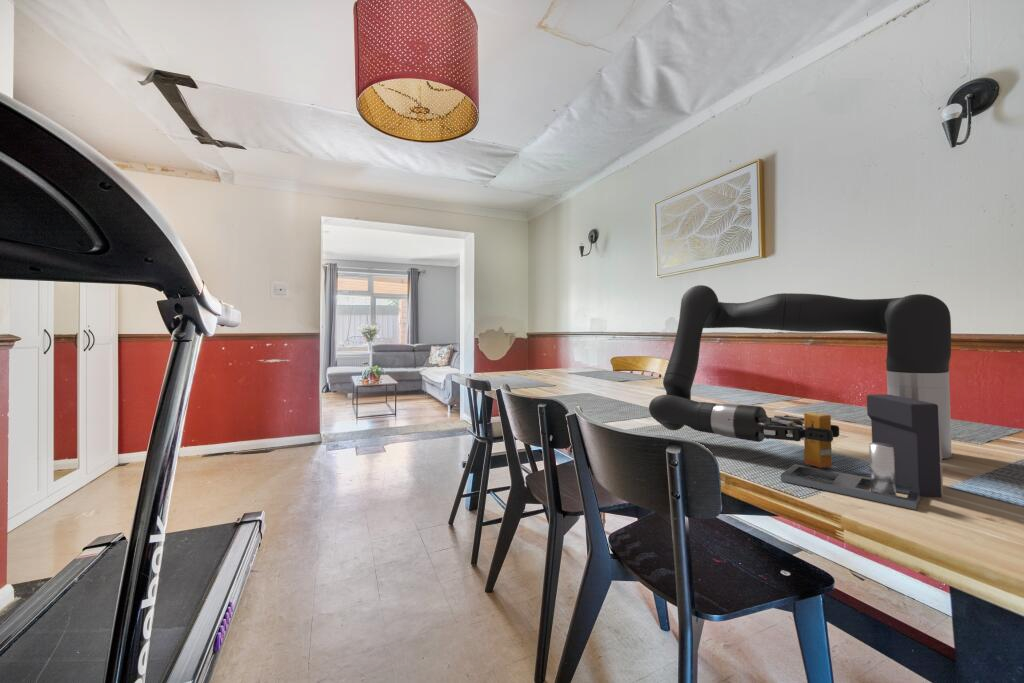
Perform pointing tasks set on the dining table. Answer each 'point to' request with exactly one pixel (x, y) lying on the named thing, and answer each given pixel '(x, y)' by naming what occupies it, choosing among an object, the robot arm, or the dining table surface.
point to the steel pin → (882, 468)
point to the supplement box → (814, 449)
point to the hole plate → (851, 486)
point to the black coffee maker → (910, 439)
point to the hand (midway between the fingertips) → (835, 433)
